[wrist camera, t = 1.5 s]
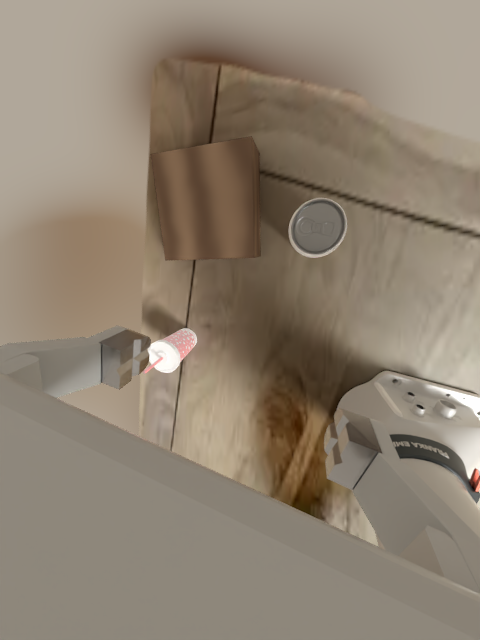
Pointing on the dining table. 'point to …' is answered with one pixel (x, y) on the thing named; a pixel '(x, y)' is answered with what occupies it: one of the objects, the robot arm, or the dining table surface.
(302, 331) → the dining table surface
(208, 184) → the riser block
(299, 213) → the can
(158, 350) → the beverage cup
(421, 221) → the dining table surface
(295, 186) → the dining table surface
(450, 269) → the dining table surface
